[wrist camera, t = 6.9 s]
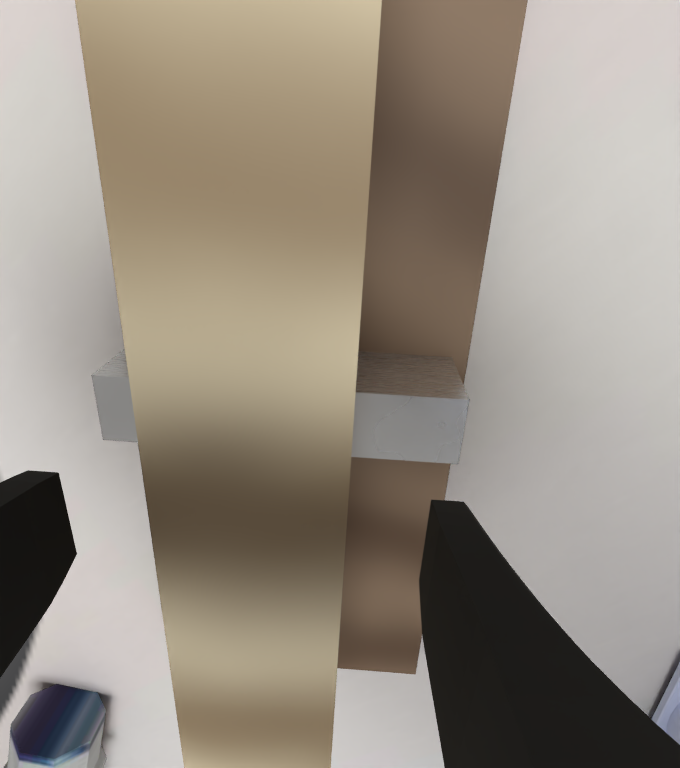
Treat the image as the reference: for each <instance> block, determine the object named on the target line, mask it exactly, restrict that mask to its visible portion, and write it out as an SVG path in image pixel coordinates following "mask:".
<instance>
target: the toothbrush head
mask: <svg viewBox="0 0 680 768" xmlns="http://www.w3.org/2000/svg"><path fill="white" fill-rule="evenodd" d="M105 714H106V709H105V707H104V705H103V703H102V701H101V699H100V697H99V695H98V693H97V692H93V691H88V690H83V689H78V688H73V687H68V686H64V685H59V684H56V685H53V686H51V687H49V688H46V689H44V690H42V691H39V692H37V693H34V694H32V695H31V696H30V697H29V699H28V700H27V702H26V703H25V705H24V706H23V707H22V709H21V710H20V712H19V713H18V715H17V716H16V718H15V719H14V721H13V722H12V723H11V730H10V742H9V755H8V762H7V763H6V765H5V766H4V768H103V766H104V764H105V762H106V755H105V753H104V750H103V748H102V746H101V740H102V734H103V727H104V721H105Z"/></svg>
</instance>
